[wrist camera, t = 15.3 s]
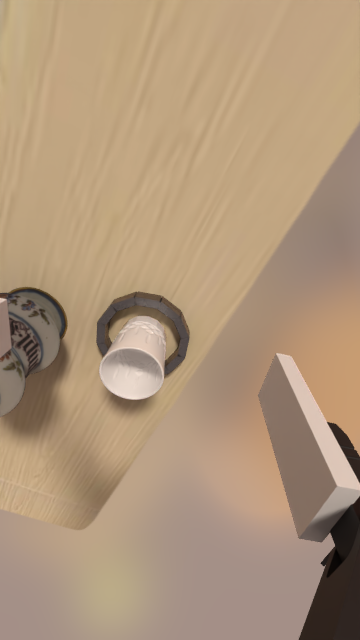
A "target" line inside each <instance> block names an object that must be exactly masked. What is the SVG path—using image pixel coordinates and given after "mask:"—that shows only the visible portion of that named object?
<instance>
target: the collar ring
mask: <svg viewBox="0 0 360 640" xmlns="http://www.w3.org/2000/svg"><path fill="white" fill-rule="evenodd" d="M135 305H138V306H144V307H150V308H156V309H158V310H159V311H161V312H162V313H163V314H165V315H166V316H167V317H169V318H170V319H171V320H173V321H174V323H175V326H176V328H177V331H178V333H179V335H180V342H179V347H178V349H177V350H176V351H175V352H174V353H173V354H172V355H171V356H170V357H169V358H168V359H167V360H165V369H164V374H168V373H170V372H171V371H172V370H174V369H175V368H176V367H177V366H178V365H179V364H180V363H181V362H182V361H183V360H184V359H185V356H186V351H187V347H188V342H189V329H188V326H187V324H186V321H185V319H184V316H183V314H182V312H181V310H180V309H178V308H177V307H176V306H174V305H173V304H172V303H171V302H169V301H168V300H167V299H165V298H164V297H163V296H162V298H161V296H160V295H154V294H149V293H143V292H134V293H131V294H129V295H126V296H123V297H120V298H117V299H115V300H114V301H113V302H112V303H111V305H110V306H109V307H108V308H107V310H106V311H105V312H104V314H103V315H102V316H101V318H100V319H99V320H98V322H97V342H96V343H97V345H98V347H99V349H100V350H101V352H102V354H103V356H105V354H106V353H107V351H108V349H109V348H110V346H111V344H112V342H111V340H110V338H109V336H108V333H109V321H110V319H111V318H112V317H113V316H114V314H115V313H116V312H117V311H120V310H123V309H126V308H129V307H132V306H135Z"/></svg>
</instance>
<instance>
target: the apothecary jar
mask: <svg viewBox="0 0 360 640" xmlns="http://www.w3.org/2000/svg"><path fill="white" fill-rule="evenodd" d="M0 298H3V299H7V305H8V315H9V326H10V337H11V347H12V348H11V349H10V350H8V351H7V352H6V353H5V354H4V355H3V356H2V357H1V358H0V417H1V416H4V415H6V414H7V413H9V412H10V411H12V410H13V409H14V408H15V407H16V406H17V405H18V403H19V402H20V400H21V398H22V396H23V394H24V390H25V383H26V381H25V378H26V377H27V376H28V375H29V374H33V373H37V372H39V371H41V370H43V369H45V368H47V367H48V366H49V365H50V364H51V363H52V362H53V361H54V359H55V358H56V356H57V354H58V351H59V347H60V339H61V338H62V337H63V336H64V334H65V332H66V329H67V318H66V314H65V312H64V309H63V308H62V306H61V305H60V304H59V302H58V301H57V300H56V299H55V298H53V297H52V296H51V295H49V294H48V293H46V292H44V291H42V290H39V289H36V288H31V287H22V288H17V289H14V290H12V291H11V292H9V293H0Z"/></svg>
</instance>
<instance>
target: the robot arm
mask: <svg viewBox="0 0 360 640" xmlns="http://www.w3.org/2000/svg"><path fill="white" fill-rule="evenodd" d="M11 348H12V347H11V337H10V326H9V315H8V305H7V299H3V298H0V358H1V357H2V356H3V355H4V354H5V353H6V352H7V351H8V350H10V349H11ZM258 397H259V401H260V404H261V408H262V411H263V415H264V418H265V422H266V425H267V429H268V432H269V435H270V439H271V443H272V446H273V450H274V453H275V456H276V460H277V463H278V467H279V471H280V474H281V478H282V481H283V485H284V488H285V492H286V495H287V499H288V502H289V506H290V510H291V513H292V516H293V520H294V523H295V527H296V531H297V534H298V538H299V539H305V540H311V541H317V542H322V541H323V540H324V539H325V538H326V537H327V535H328V534H329V533H331V535H332V538H333V541H334V543H335V547H334V548H333V549H332V550H331V552H330V553H329V554H328V555H327V556H326V557H325V558H324V560H323V561H322V562H321V564H322V565H323V566H325V565H326V566H325V569H324V572H323V575H322V577H321V580H320V583H319V585H318V588H317V591H316V594H315V596H314V599H313V602H312V605H311V607H310V610H309V613H308V615H307V618H306V621H305V624H304V626H303V629H302V632H301V635H300V638H299V640H360V456H359V455H358V453H357V451H356V450H354V446H353V445H352V443H351V441H350V440H349V438H348V436H347V435H346V434H345V433H344V432H343V431H342V430H341V429H340V428H339V427H338V426H337V425H336V424H334V423H329V422H326V420H325V418H324V416H323V414H322V412H321V411H320V409H319V407H318V405H317V403H316V401H315V399H314V398H313V396H312V394H311V392H310V390H309V388H308V386H307V385H306V383H305V381H304V379H303V377H302V375H301V374H300V372H299V370H298V368H297V366H296V364H295V362H294V361H293V359H292V357H291V356H288V355H283V354H278V353H276V354H275V357H274V359H273V361H272V364H271V366H270V369H269V371H268V373H267V376H266V378H265V380H264V383H263V385H262V388H261V390H260V392H259V394H258Z"/></svg>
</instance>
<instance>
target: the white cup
mask: <svg viewBox="0 0 360 640" xmlns="http://www.w3.org/2000/svg"><path fill="white" fill-rule="evenodd" d="M165 357H166V334H165V330H164V327H163V326H162V325H161V324H160V323H159V321H158V320H156V319H154V318H151V317H149V316H136V317H134V318H131V319H129V320H128V321H127V323H126V324H125V325H124V326H123V328H122V329H121V330H120V332H119V333H118V335H117V336H116V338H115V339H114V341H113V343H112V344H111V346H110V348H109V349H108V351H107V353H106V354H105V356H104V358H103V359H102V361H101V363H100V367H99V374H100V378H101V381H102V382H103V384H104V385H105V387H106V388H107V389H108V390H109V391H110V392H112V393H113V394H115V395H117V396H119V397H121V398H125V399H130V400H140V399H145V398H148V397H150V396H152V395H154V394H155V393H156V392H157V391H158V390H159V389H160V388H161V386H162V384H163V381H164V369H165Z"/></svg>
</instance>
